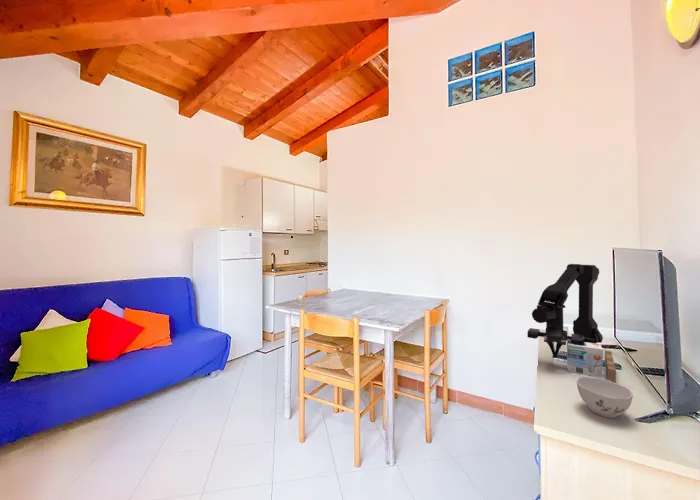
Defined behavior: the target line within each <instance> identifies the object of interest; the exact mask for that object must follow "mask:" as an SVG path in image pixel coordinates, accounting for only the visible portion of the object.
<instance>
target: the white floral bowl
mask: <svg viewBox="0 0 700 500" xmlns="http://www.w3.org/2000/svg"><path fill="white" fill-rule="evenodd" d="M576 387H577V390H578V394H579V395H580V396H579V397H580V398H581V399H582V401H583V402H584V403H585V405H586V406H587V407H588V408H589V409H590V410H591V412H593V413H594V414H596V415H598V416H601V417H603V418H604V417H605V418H608V419H609V418H610V419H615V418H617V417H619V416H621V415H623V414H624V413H626V412H627V411H628V409H629V408H630V406H631V405H632V404H631V403H632V402H633V398H634V393H633V392H632V390H631V389H629V388H628V387H627V386H625V385H622V384H620V383H617V382H616V383H613V382H611V381H609V380H607V379H605V378H601V377H594V376H592V377H591V376H581V377H578V378H577V379H576Z"/></svg>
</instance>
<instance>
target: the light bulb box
mask: <svg viewBox="0 0 700 500" xmlns="http://www.w3.org/2000/svg"><path fill="white" fill-rule="evenodd" d="M566 350H567V351H566V364H567V365H566V366H567V371H568V372H570V373H576V374H580V375H586V376H590V377H591V376H592V377H595V378H602V379H604V366H603V365H604V359H603V358H604V355H603V354H604V351H603V350H604V349H603V347H602V345H601V343H597V344H596V343H588V342H584V346H581V345H574V344H573V343H572V342H571V341H567V340H566Z"/></svg>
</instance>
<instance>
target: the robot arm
mask: <svg viewBox="0 0 700 500" xmlns="http://www.w3.org/2000/svg"><path fill="white" fill-rule="evenodd" d="M599 275H600V269H599V268H598V267H597V266H596V265H594V264H580V263H569V264H567V266H566V269H565V270H564V271H563V273H561V275H560V276H559V278H557V280H556V281H555V282H554V283H553V284H550V285H548V286H547V287H545V288H544V289H543V291H542V293H541V295H540V297H539V300H538V302H537V305H536V308H535V309H533V310H532V311H531V317H532V319H533V320H534V321H535V322H536V323H538V324H544V323H545V325H546V326H545V332H544V331H543V332H542V331H541V330H540V328H531V327H530V328H529V329H528V330H527V336H526V337H527V338H529V339H534V340H535V339H536V340H537V339H538V338H539V337H541V338H543V342H544V343H547V345H548V346H549V349H550V351H551V353H552V356H553V358H555V359H556V358H557V357H558V354H559V351H560V350H561V347H562V346H567V341H571V342H572V343H573V344H574V345H581V346H584V342H588V343H596V344H601V343H602V342H603V339H604V335H602V333H601V331H600V330H599V328H598V327H599V326H598V323H597V321H595V318H594V317H593V316H594V314H593V313H594V311H593V310H594V306H593V305H594V284H595V283H596V282H597V281H598V279H599ZM575 281H576V282H577V284H578V317H577V318H576V319H574V320H573V321H572V322H573V323H572V332H573V333H571V335H568V331H567V330H564V309H565V308H566V305H565V303H566V301H567V300H568V299H567V298H568V296H569V293H568V291H569V289H570V288H571V287H572V286H573V284H574V283H575ZM555 344H556V346H555Z"/></svg>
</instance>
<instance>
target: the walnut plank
mask: <svg viewBox="0 0 700 500" xmlns="http://www.w3.org/2000/svg"><path fill="white" fill-rule="evenodd" d="M614 361H615V360H614V356H613V353H612V351H609V350H604V367H605V373H606V380H609V381H611V382H613V383H617V369H616V365H615V362H614Z"/></svg>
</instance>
